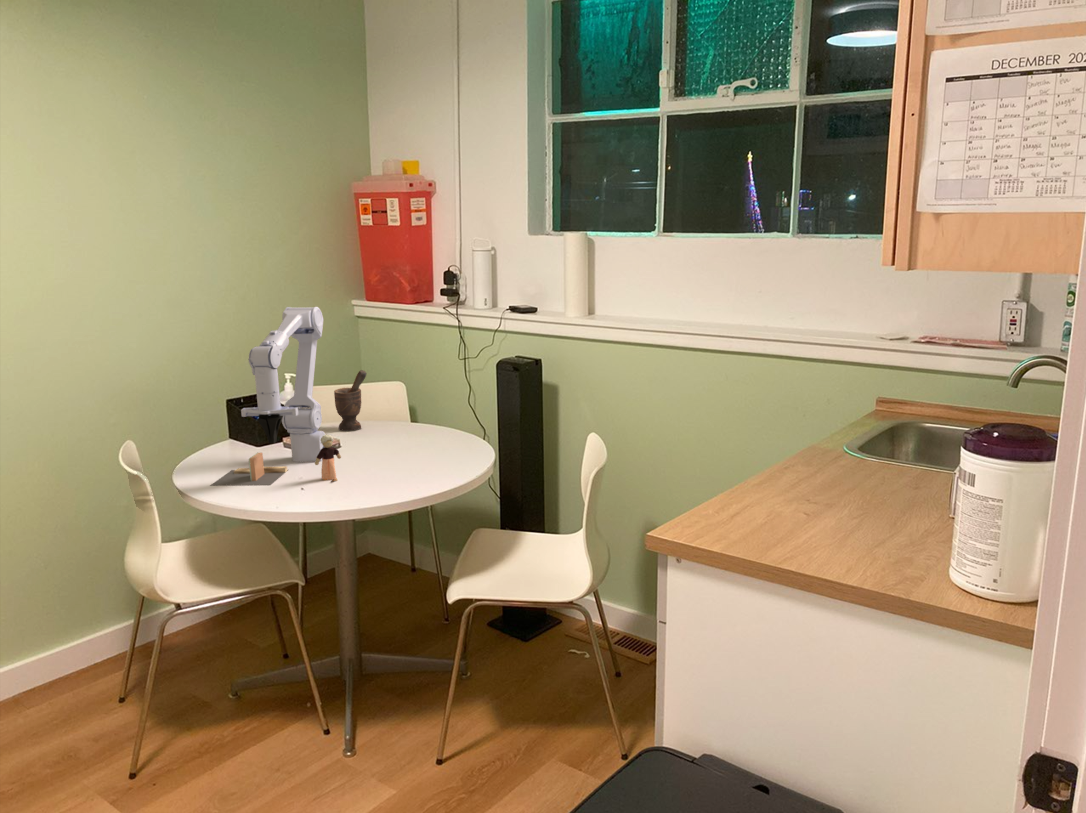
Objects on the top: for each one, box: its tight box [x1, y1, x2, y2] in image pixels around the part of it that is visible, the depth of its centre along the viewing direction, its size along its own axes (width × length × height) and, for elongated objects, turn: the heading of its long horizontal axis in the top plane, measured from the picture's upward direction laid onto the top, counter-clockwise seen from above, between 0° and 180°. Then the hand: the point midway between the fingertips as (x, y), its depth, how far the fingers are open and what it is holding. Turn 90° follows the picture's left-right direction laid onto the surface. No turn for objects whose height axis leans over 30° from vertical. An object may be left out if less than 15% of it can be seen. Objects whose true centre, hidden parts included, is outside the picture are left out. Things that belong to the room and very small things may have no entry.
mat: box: [209, 469, 287, 487], centre depth 232 cm, size 16×14×1 cm
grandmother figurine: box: [314, 433, 342, 483], centre depth 228 cm, size 8×4×13 cm, turn 148°
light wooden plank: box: [234, 465, 289, 474], centre depth 236 cm, size 14×3×1 cm, turn 87°
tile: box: [248, 452, 265, 481], centre depth 231 cm, size 1×6×6 cm, turn 177°
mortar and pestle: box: [333, 369, 367, 432], centre depth 283 cm, size 12×9×20 cm
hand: (272, 442), depth 229 cm, fingers closed
